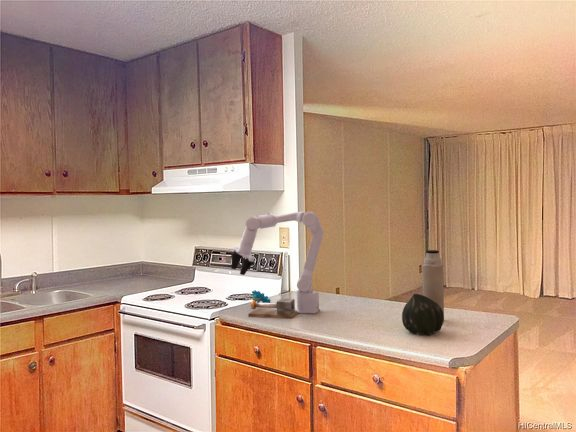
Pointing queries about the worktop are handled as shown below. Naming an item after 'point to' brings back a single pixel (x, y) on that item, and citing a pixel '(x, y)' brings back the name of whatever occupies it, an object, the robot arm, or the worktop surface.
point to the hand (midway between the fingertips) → (237, 271)
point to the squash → (422, 315)
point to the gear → (260, 297)
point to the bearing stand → (283, 310)
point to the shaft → (263, 305)
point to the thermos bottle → (433, 278)
